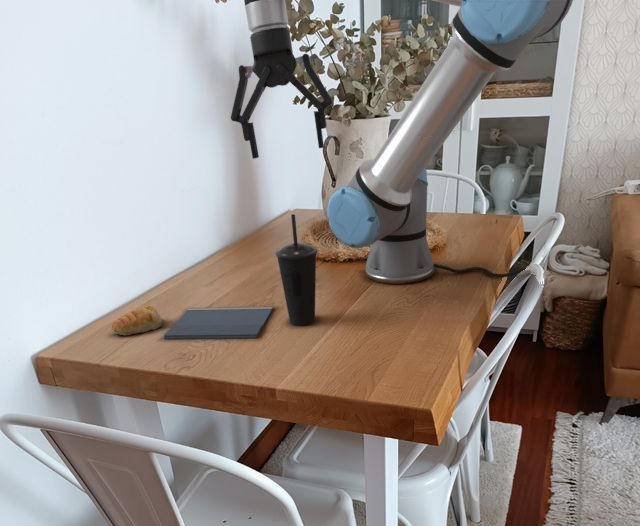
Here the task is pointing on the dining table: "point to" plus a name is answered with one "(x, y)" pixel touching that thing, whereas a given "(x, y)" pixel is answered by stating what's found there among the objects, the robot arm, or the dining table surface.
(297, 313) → the drinking cup
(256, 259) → the dining table surface
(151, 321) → the pastry
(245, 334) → the dark gray flat panel
